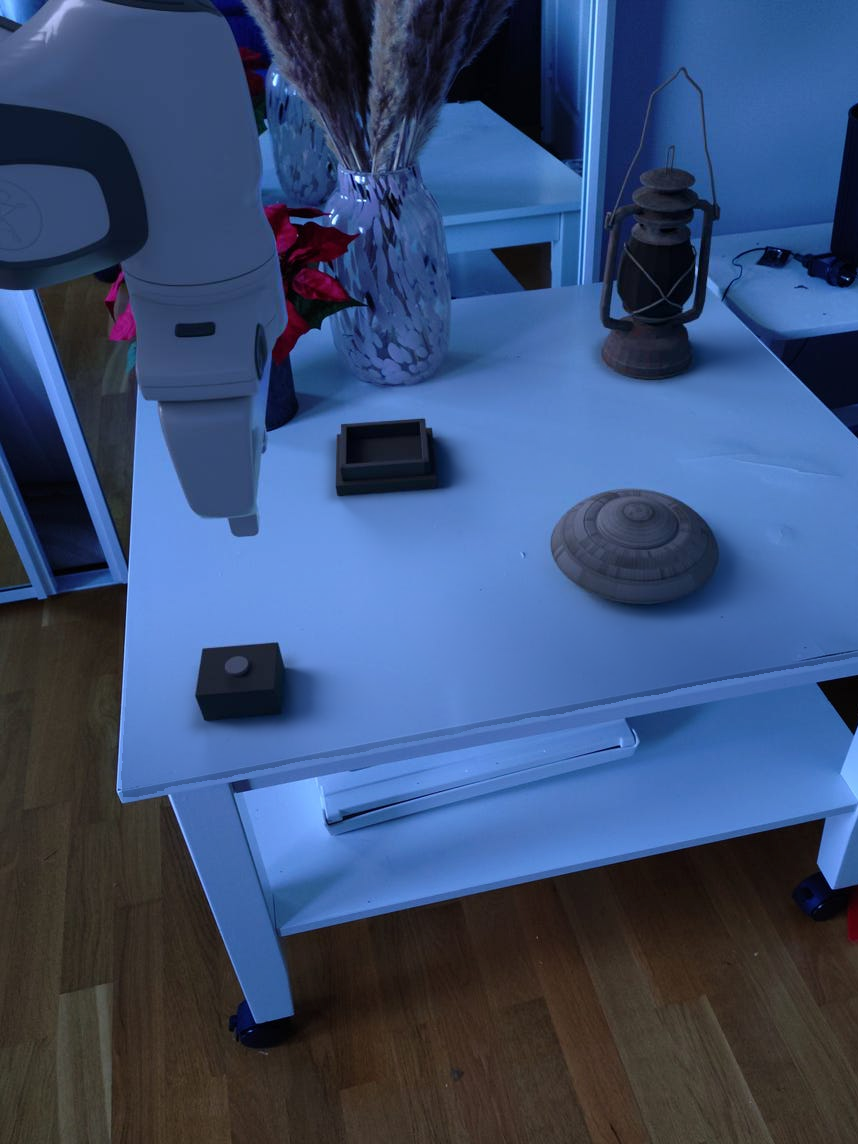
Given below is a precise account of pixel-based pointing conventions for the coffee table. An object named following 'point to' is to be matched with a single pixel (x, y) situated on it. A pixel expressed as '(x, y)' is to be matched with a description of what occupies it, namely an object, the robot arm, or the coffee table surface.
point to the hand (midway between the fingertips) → (251, 487)
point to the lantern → (657, 269)
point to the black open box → (385, 457)
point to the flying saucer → (635, 546)
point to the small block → (240, 681)
